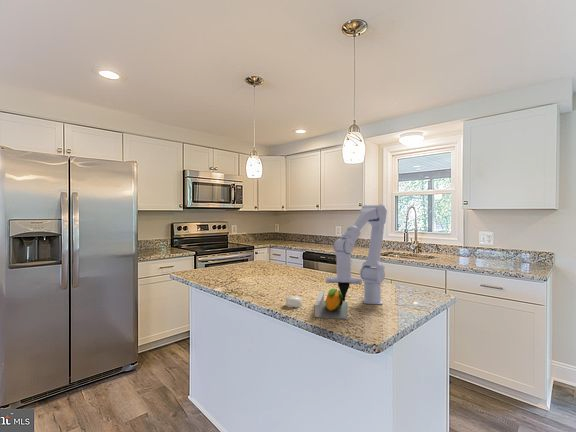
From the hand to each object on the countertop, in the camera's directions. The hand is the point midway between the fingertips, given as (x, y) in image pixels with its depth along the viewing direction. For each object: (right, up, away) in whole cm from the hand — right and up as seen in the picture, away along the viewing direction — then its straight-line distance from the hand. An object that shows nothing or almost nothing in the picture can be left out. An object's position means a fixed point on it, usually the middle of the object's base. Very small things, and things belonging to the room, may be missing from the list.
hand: (343, 300), depth 125 cm
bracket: (-5, -4, +1) cm, 6 cm away
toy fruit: (-4, -4, 0) cm, 5 cm away
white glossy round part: (-21, -4, +7) cm, 22 cm away
